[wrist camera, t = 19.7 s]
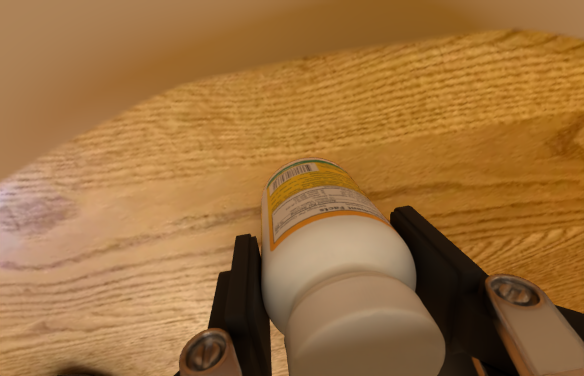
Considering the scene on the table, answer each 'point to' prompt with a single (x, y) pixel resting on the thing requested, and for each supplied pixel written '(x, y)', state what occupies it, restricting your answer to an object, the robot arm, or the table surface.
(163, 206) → the table surface
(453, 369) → the pot lid
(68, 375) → the can opener
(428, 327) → the supplement bottle
